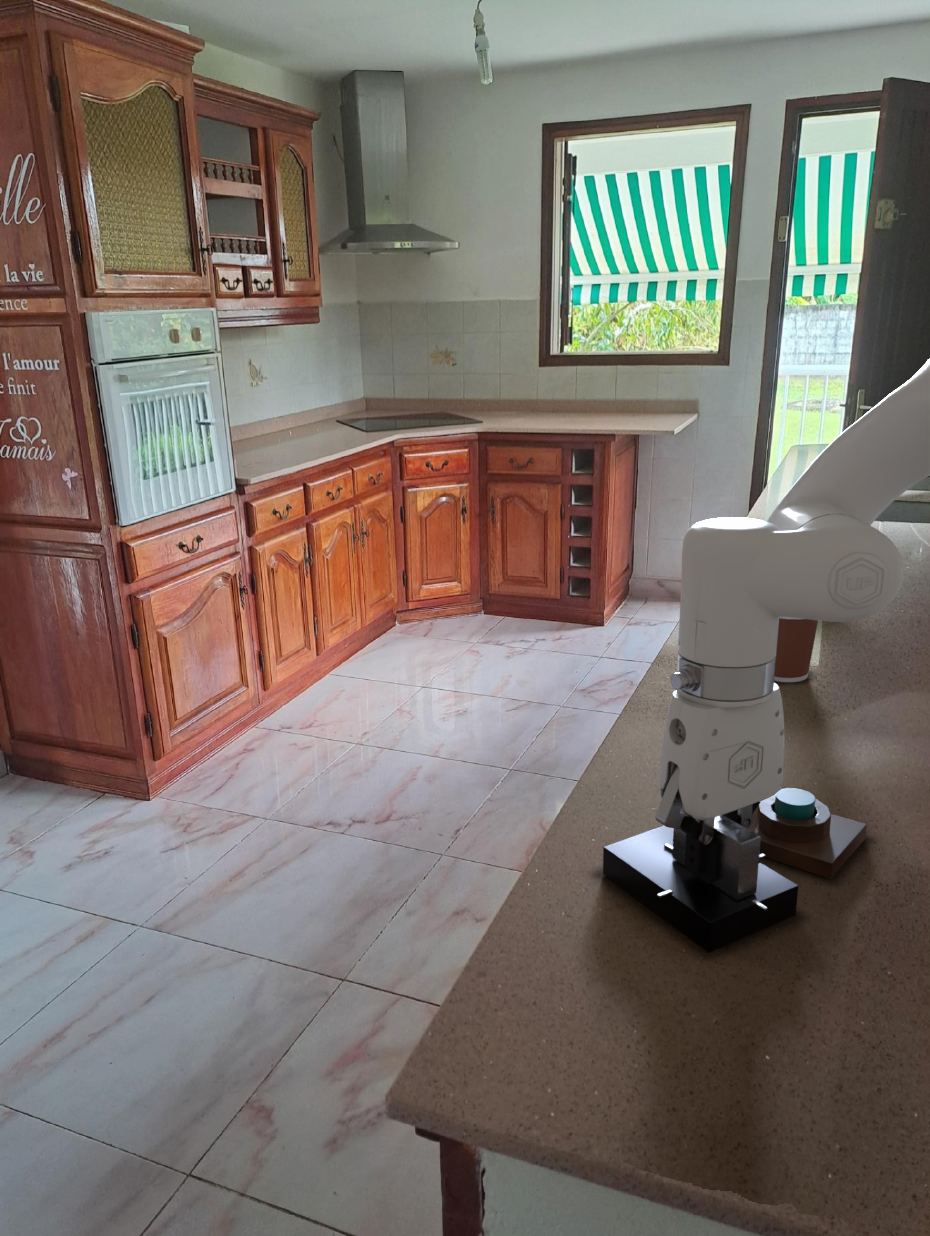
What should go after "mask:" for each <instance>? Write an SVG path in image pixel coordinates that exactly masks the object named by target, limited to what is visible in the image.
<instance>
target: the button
mask: <svg viewBox="0 0 930 1236" xmlns="http://www.w3.org/2000/svg"><path fill="white" fill-rule="evenodd" d="M815 799H816V796H815V795H814V794H813V793H811V791H808V790H805V789H800V788H797V787H796V788H795V787H786V788H780V790H779V791H778V792H777V793H776V796H775V808H774V811H775V813H776V814H778V815H779V816H781V817H785V818H788V819H793V820H807V819H811V818H813V816H814V809H815Z"/></svg>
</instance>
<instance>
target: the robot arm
mask: <svg viewBox="0 0 930 1236" xmlns="http://www.w3.org/2000/svg"><path fill="white" fill-rule="evenodd" d="M928 477H930V358H929V359H927V361H926V362H925V363H924V364H923V365H922V367H921V368H919V370H918V371H917V372H916V373H915V374H914V375H913V376H912V377H910V379H908V380H907V381H905V382H904V383H903V384H902V385H900V386H899V387H897V388H896V389H895V390H893V391H892V392H891V393H889V394H888V395H887V396H886V397H884V398H883V399H882V400H881V401H879V402H878V403H877V404H876V405H875V406H874V407H872V408H871V409H870V410H869V411H867V412H866V413H865V414H864V415H863V416H861V417H860V418H859V419H858V420H856V421H855V422H853V424H851V425H850V426H848V427H847V428H846V429H844V430H843V432H841V433H840V434H839V435H838V436H836V438H835V439H833V440H832V441H831V442H830V443H829V444H828V445H827V446H826V447H825V449H823V450H822V451H821V452H820V453H819V454H818V456H817V457H816V458H815V459H814V460H813V461H812V462H811V463H810V465H809V466H808V467H807V468H806V470H804V471H803V473H802V474H801V475H800V477H798V479H797V480H796V481H795V483H793V485H792V487H790V489H789V490H788V491H787V493H786V494H785V495H784V496H783V497H782V499H781V500H780V501H779V502H778V504H777V505H776V506H775V508H774V509H773V511H772V512H771V514H770V516H769V517H768V519H767V521H766V520H763V519H757V518H750V517H733V516H732V517H717V518H709V519H704V520H701V521H698V522H696V523H695V524H693V525H691V526H690V527H689V529H688V530H687V531H686V532H685V535H684V537H683V541H682V548H681V549H682V550H681V551H682V552H681V570H680V571H681V575H680V576H681V577H680V598H679V599H680V600H679V621H678V642H677V644H678V645H677V646H678V647H677V648H678V650H677V668H676V672H674V673H671V675H670V679H669V681H670V686H671V687H672V688H673V689H674V690H673V692H671V697H670V701H669V703H668V709H667V712H666V717H665V722H664V723H665V724H664V729H663V734H662V735H663V736H662V741H661V742H662V743H661V750H660V761H659V791H660V792H659V793H660V797H661V800H660V802H659V805H658V808H657V811H656V813H655V816H654V818H655V821H656V822H658V823H660V824H661V825H662V826H666V827H669V828H675V829H681V831H683V832H684V833H686V850H685V868H686V869H687V870H688V871H689V872H691V873H692V874H694V875H695V876H697V877H698V878H700V879H701V880H703V881H704V882H706V883H708V884H710V883H713V882H715V879H716V869H717V853H718V843H717V842H716V841H714V840H712V839H713V832H714V821H715V817H718V816H721V815H724V816H726V817H727V818H729V819H731V820H733V821H734V822H736V823H738V824H740V825H741V826H743V827H745V828H747V829H749V828H750V826H751V824H752V814H753V813H754V811H755V810H756V808H757V807H758V805H759V804H760V802H761V801H762V800H765V799H767V798H770V797H772V796H773V795H775V794H776V793H777V792H778V791H779V790H781V789H782V785H783V781H784V772H785V749H786V748H785V746H786V745H785V742H786V741H785V739H786V738H785V733H786V732H785V716H784V706H783V697H782V693H781V689H780V685H778V684H777V683H776V682H775V681H774V675H775V663H776V650H777V638H778V626H779V617H780V616H783V617H793V618H802V619H810V620H818V622H829V623H830V622H831V623H849V622H850V623H851V622H857V621H861V620H865V619H869V618H871V617H873V616H876V615H877V614H878V613H880V612H882V611H884V610H885V609H886V608H888V607H889V606H890V604H892V603H893V602H894V601H895V599H896V598H897V596H898V594H899V593H900V591H901V588H902V586H903V583H904V577H905V565H904V560H903V557H902V555H901V553H900V551H899V549H898V547H897V545H896V544H895V543H894V542H893V541H892V540H891V539H890V538H889V537H888V536H887V535H885V534H884V533H883V532H882V531H880V530H879V529H877V528H876V527H874V526H872V524H874V522H875V521H876V519H878V517H880V516H881V514H883V512H884V511H885V510H886V509H887V508H888V507H889V506H890V505H891V504H892V503H893V502H894V501H896V499H898V498H899V497H901V495H903V494H904V493H906V492H907V491H908V490H909V489H911V488H912V487H914V486H915V485H916V484H918V483H920V482H921V481H923V480H925V479H927V478H928ZM680 810H681V811H680ZM695 819H697V820H699V822H697V821H696V820H695Z"/></svg>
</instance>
